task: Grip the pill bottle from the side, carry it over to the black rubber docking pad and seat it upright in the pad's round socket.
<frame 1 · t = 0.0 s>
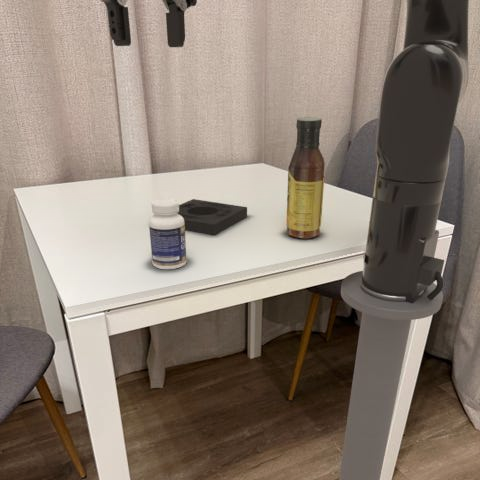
hand: (150, 46, 58), 30 cm above the table, tool pointing down, fingers open, 8 cm apart
pill bottle: (169, 264, 76), on the table
dock pad: (203, 220, 95), on the table
sauce bottle: (302, 235, 88), on the table
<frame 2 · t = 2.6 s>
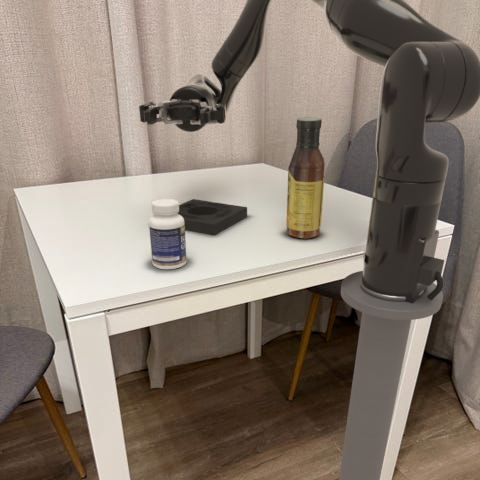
hand: (175, 117, 76), 20 cm above the table, tool horizontal, fingers open, 8 cm apart
nothing on the table moved.
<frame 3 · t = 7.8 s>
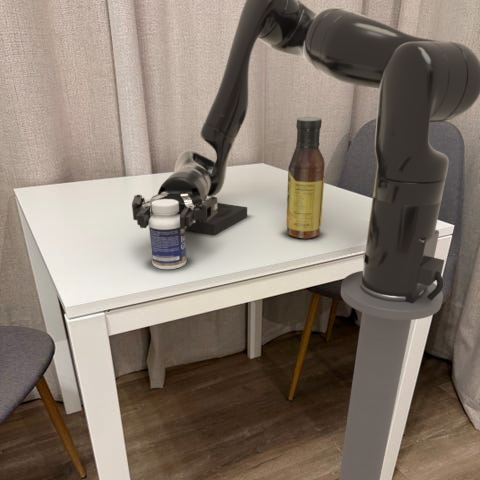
hand: (162, 222, 70), 8 cm above the table, tool horizontal, fingers closed on pill bottle, 5 cm apart
pill bottle: (169, 264, 76), on the table, touching gripper
everything else where it was.
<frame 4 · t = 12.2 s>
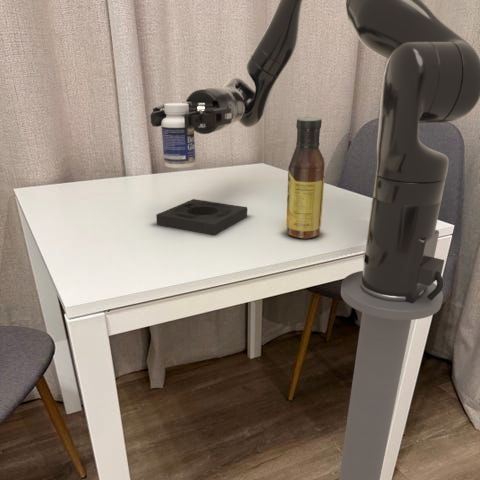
hand: (170, 120, 78), 20 cm above the table, tool horizontal, fingers closed on pill bottle, 5 cm apart
pill bottle: (180, 166, 83), point 12 cm above the table, touching gripper
everything else where it was.
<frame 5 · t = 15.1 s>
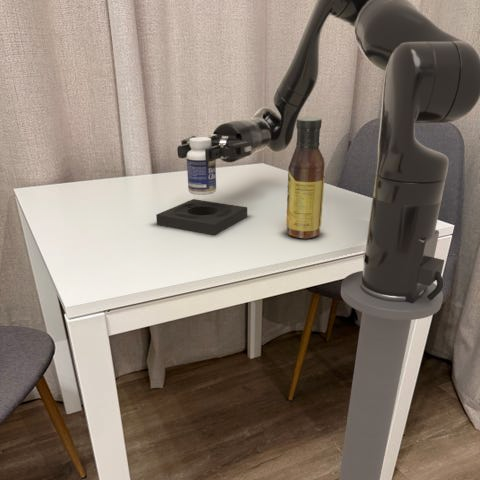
hand: (193, 153, 87), 13 cm above the table, tool horizontal, fingers closed on pill bottle, 5 cm apart
pill bottle: (202, 193, 93), point 5 cm above the table, touching gripper
everything else where it was.
when the fingers open (8 cm above the table, at t = 17.1 s): pill bottle stays where it is, resting in dock pad.
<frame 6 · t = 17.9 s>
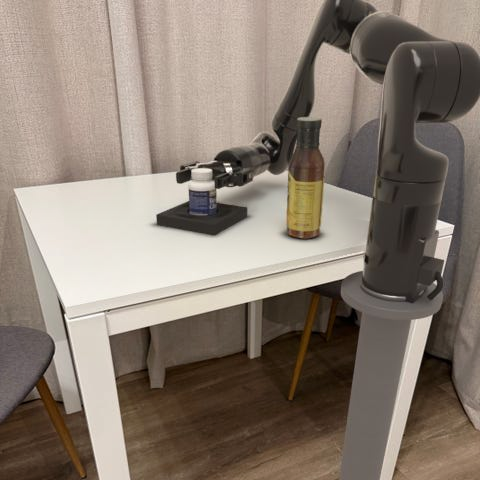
hand: (196, 180, 90), 8 cm above the table, tool horizontal, fingers open, 8 cm apart
pill bottle: (203, 221, 96), resting in dock pad
everything else where it was.
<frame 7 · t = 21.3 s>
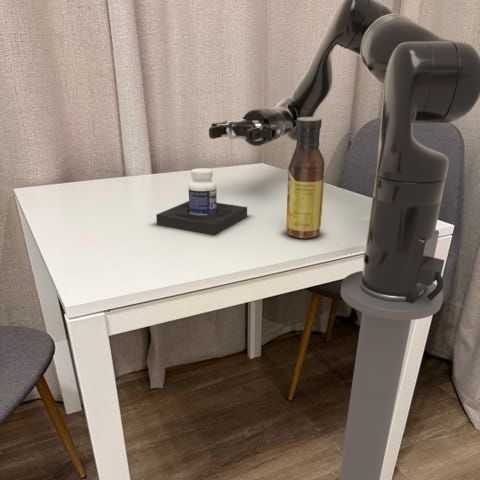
hand: (229, 134, 97), 15 cm above the table, tool horizontal, fingers open, 8 cm apart
nothing on the table moved.
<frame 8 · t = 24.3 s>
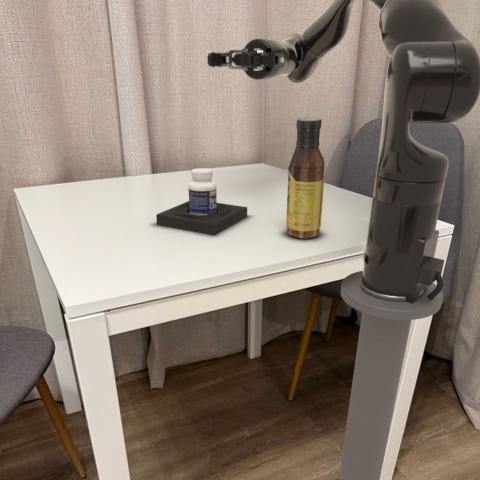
hand: (229, 60, 91), 28 cm above the table, tool horizontal, fingers open, 8 cm apart
nothing on the table moved.
at the end: pill bottle 0.2 cm off-centre in the dock pad, point 0.0 cm above the dock pad's base; pill bottle tilted 0°; the gripper is holding nothing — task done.
